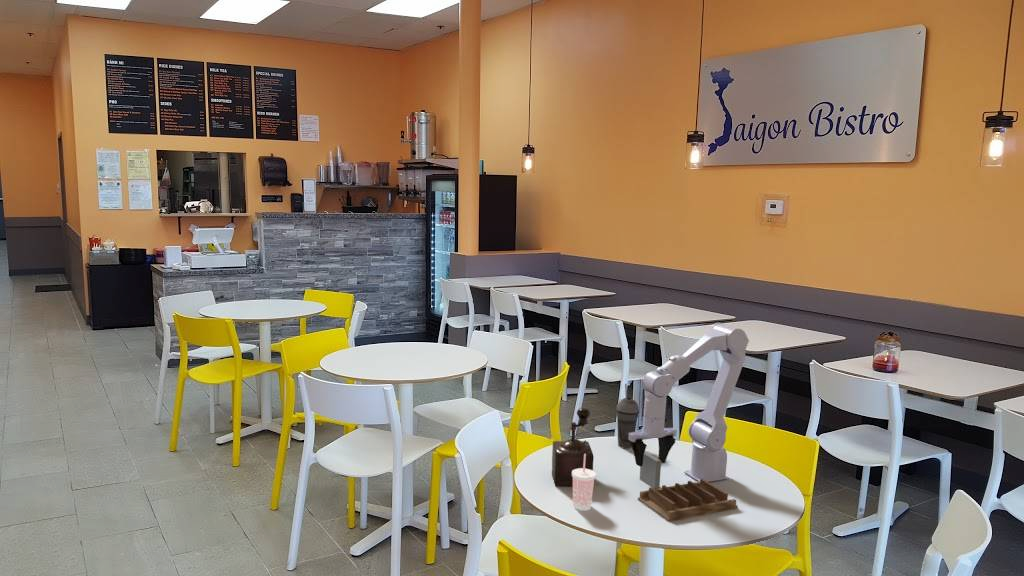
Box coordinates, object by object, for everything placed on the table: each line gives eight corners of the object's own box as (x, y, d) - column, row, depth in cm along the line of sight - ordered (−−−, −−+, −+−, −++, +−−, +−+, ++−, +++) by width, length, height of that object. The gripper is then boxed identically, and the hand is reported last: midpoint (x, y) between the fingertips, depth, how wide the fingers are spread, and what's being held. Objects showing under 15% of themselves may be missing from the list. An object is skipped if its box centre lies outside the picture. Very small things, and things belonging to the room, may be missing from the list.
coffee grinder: (595, 487, 194) (599, 424, 191) (554, 487, 193) (557, 423, 191) (586, 465, 209) (590, 406, 207) (548, 464, 209) (551, 405, 206)
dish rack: (704, 487, 197) (705, 475, 196) (737, 508, 185) (738, 494, 185) (637, 499, 188) (638, 486, 187) (668, 521, 176) (669, 507, 176)
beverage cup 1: (598, 506, 183) (601, 454, 181) (584, 514, 178) (588, 460, 176) (578, 499, 187) (581, 447, 185) (565, 506, 182) (567, 453, 180)
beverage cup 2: (631, 451, 222) (635, 389, 219) (609, 446, 225) (613, 384, 223) (640, 445, 228) (644, 384, 225) (619, 440, 232) (623, 380, 229)
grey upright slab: (644, 478, 202) (646, 451, 201) (659, 488, 195) (661, 460, 194) (639, 479, 201) (641, 452, 200) (654, 489, 195) (656, 461, 194)
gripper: (666, 409, 202) (663, 455, 204) (623, 413, 196) (620, 461, 198) (682, 416, 196) (678, 464, 198) (638, 421, 190) (634, 470, 192)
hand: (650, 463), depth 197 cm, fingers open, 7 cm apart
